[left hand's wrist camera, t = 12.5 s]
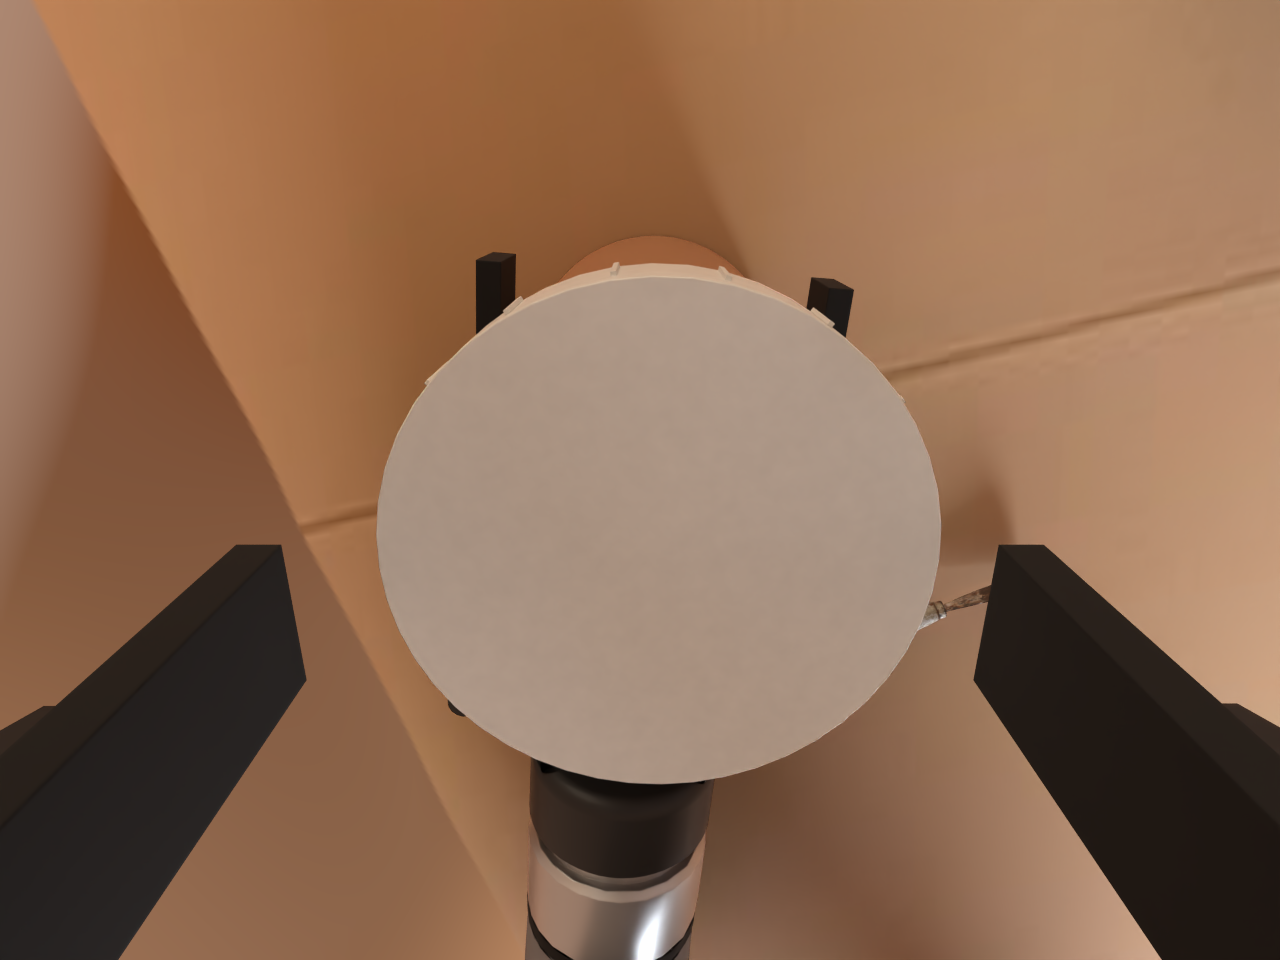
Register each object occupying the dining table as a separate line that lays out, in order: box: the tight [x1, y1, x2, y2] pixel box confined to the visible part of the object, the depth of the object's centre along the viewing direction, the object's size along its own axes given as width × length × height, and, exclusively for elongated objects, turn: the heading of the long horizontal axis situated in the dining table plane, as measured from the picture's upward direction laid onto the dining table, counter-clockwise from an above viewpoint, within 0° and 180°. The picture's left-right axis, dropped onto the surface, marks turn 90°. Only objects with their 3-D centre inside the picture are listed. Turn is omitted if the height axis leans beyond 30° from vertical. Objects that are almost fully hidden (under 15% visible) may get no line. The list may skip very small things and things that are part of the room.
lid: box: [376, 262, 941, 784], centre depth 16 cm, size 11×11×2 cm
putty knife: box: [918, 585, 991, 630], centre depth 35 cm, size 1×8×2 cm, turn 114°
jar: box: [557, 236, 745, 283], centre depth 23 cm, size 10×10×18 cm
